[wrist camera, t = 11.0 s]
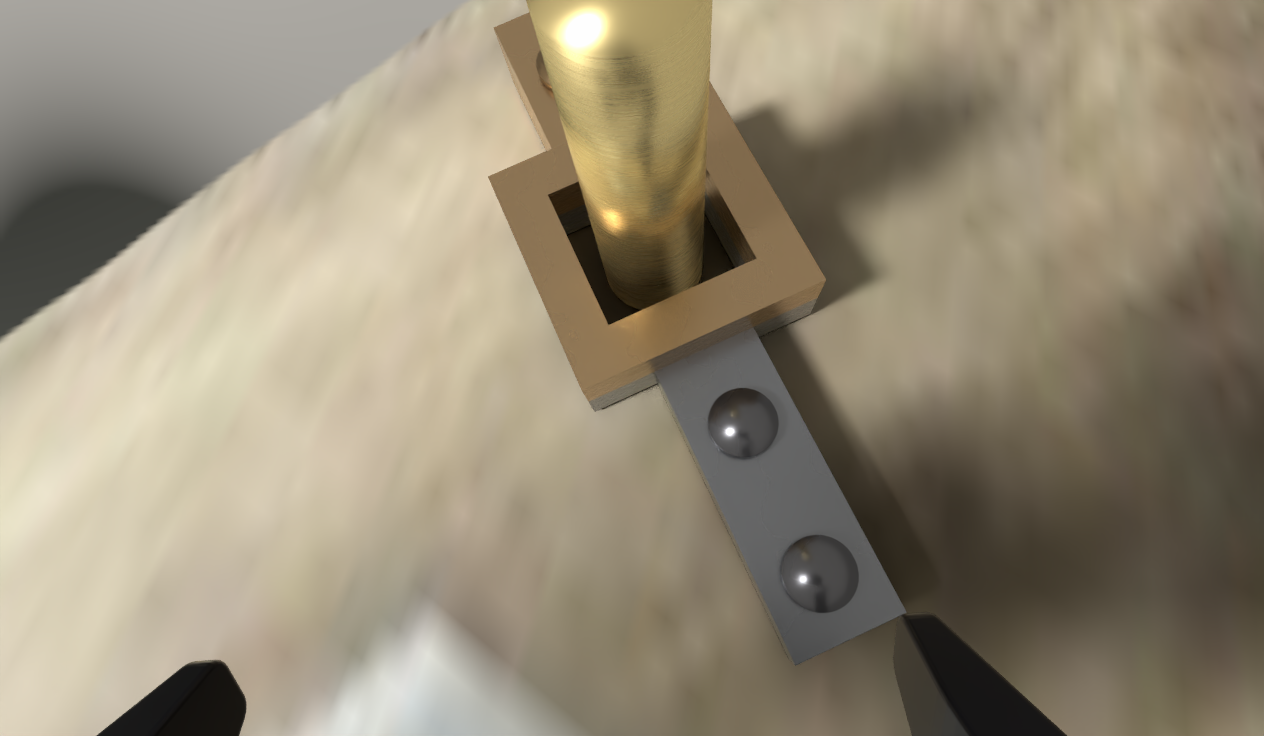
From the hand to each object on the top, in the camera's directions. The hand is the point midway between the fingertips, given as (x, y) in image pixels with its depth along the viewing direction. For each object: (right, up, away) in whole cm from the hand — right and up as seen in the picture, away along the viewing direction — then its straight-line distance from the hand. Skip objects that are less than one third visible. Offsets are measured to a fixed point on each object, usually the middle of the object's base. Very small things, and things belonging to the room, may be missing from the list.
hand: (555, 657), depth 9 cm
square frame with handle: (+3, +6, +16) cm, 17 cm away
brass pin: (+2, +8, +16) cm, 18 cm away
